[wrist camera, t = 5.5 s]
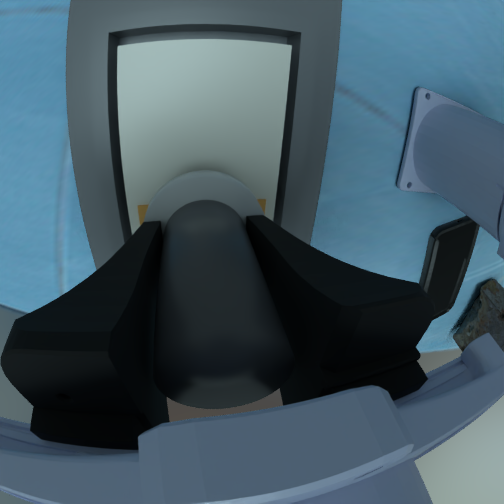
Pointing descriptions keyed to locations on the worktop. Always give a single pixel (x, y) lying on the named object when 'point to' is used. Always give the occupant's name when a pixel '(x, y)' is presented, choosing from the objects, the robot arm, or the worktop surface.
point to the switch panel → (196, 27)
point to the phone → (448, 262)
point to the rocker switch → (201, 115)
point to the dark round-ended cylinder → (213, 298)
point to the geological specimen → (484, 317)
